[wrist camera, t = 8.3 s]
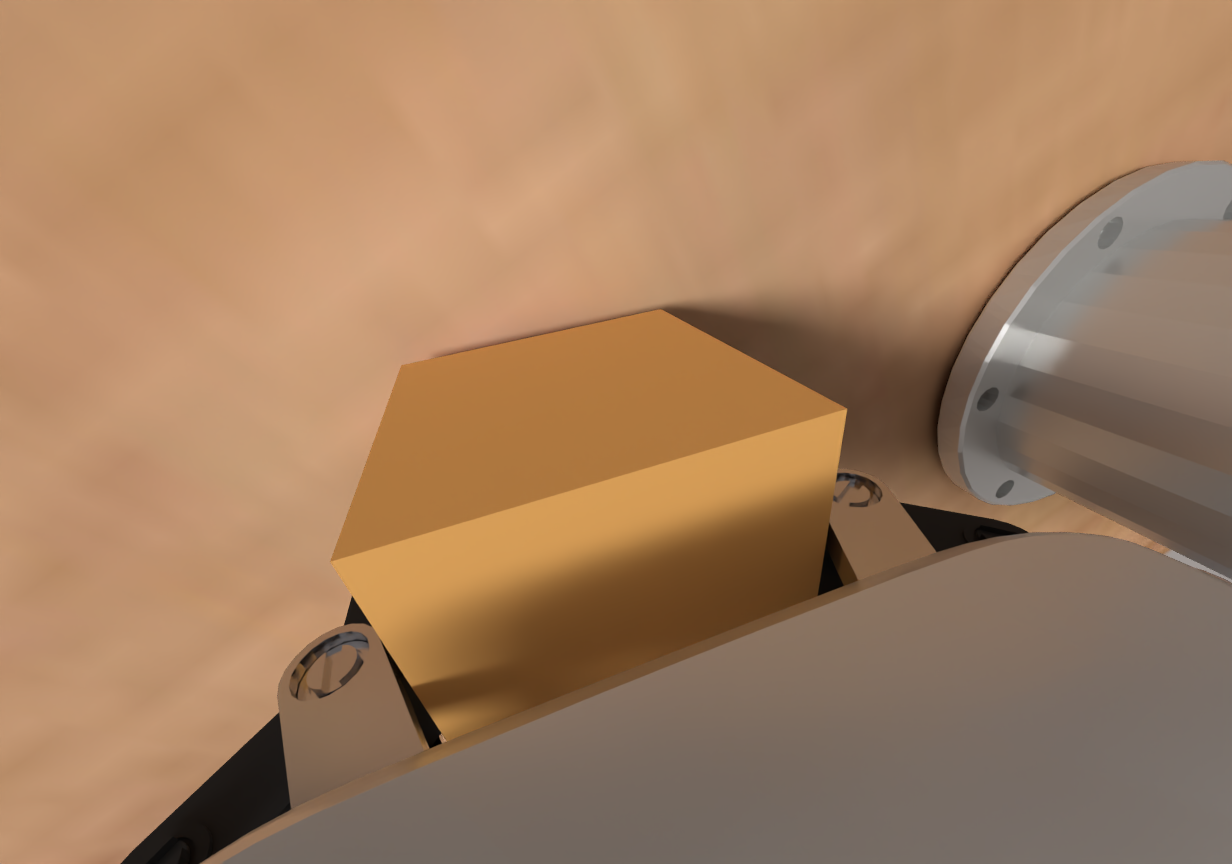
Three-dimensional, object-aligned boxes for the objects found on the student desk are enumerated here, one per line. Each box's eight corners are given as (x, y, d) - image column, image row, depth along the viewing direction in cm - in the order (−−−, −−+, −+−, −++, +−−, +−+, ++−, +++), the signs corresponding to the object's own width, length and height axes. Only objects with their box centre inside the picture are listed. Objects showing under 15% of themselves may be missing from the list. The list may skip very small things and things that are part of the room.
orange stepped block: (401, 365, 9) (329, 561, 4) (660, 308, 10) (847, 408, 5) (522, 666, 15) (554, 907, 10) (683, 606, 16) (786, 793, 11)
